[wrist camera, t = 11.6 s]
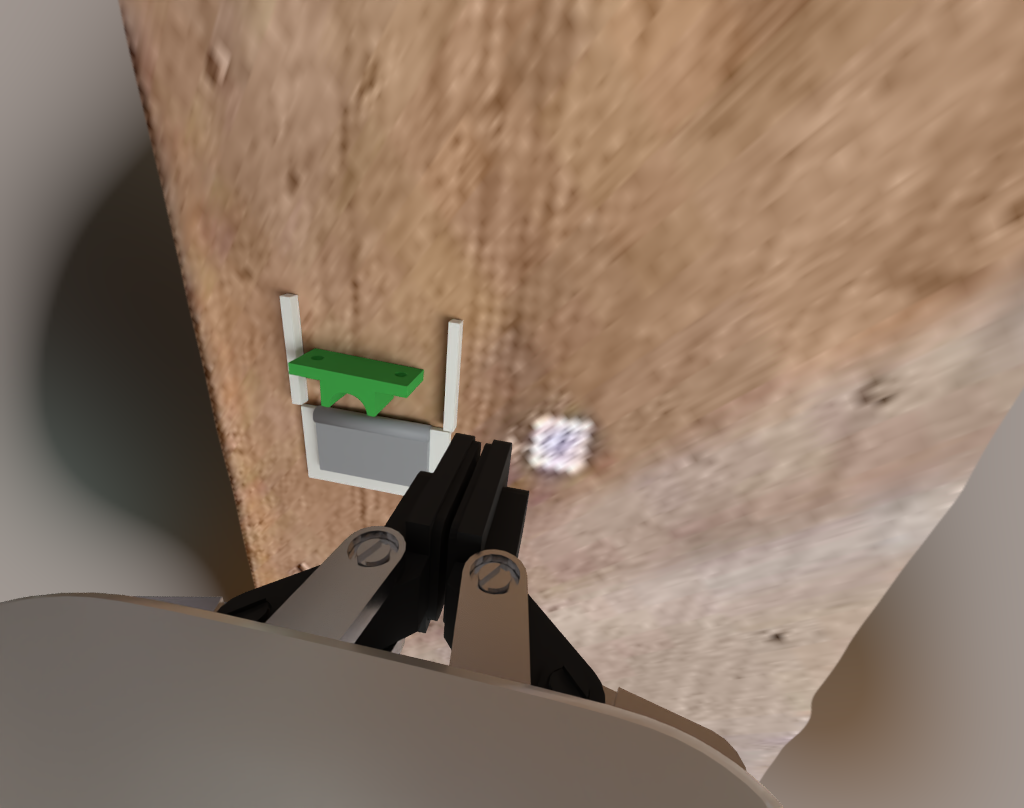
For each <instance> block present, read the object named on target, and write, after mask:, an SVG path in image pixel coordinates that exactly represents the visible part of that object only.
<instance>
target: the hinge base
mask: <svg viewBox="0 0 1024 808" xmlns="http://www.w3.org/2000/svg"><path fill="white" fill-rule="evenodd" d="M280 304H281V312H282V321H283V329H284V337H285V346H286V354H287V363H289V362H290V361H292V360H294V359H296V358H298V357H300V356H302V355H304V353H303V343H302V333H301V323H300V314H299V304H298V295H295V294H288V293H287V294H284V295H281V296H280ZM462 331H463V320H456V319H452V320H451V321H449V326H448V346H447V365H446V385H445V405H444V425H443V428H437V427H432V426H431V425H426V424H420V423H415V422H409V421H403V420H398V419H392V418H387V417H381V416H375V417H372V416H368V415H367V414H364V413H359V412H353V411H347V410H342V409H336V408H331V407H324V406H320V405H319V406H314V405H309V404H304V403H305V402H307V401H308V392H307V382H306V377H301V376H296V375H291V374H289V379H290V388H291V396H292V403H293V404H299V405H302V404H303V405H302V406H301V411H302V420H303V429H304V438H305V448H306V457H307V466H308V475H309V477H311V478H316V479H321V480H326V481H331V482H337V483H342V484H347V485H352V486H357V487H362V488H367V489H372V490H377V491H383V492H388V493H393V494H398V495H403V496H404V495H405V493H406V491H407V490H408V488H409V487H410V485H411V483H412V482H413V480H414V479H415V477H416V476H417V474H418V473H419V472H420V471H426V472H431V473H433V472H434V471H435V469H436V467H437V465H438V464H439V462H440V460H441V458H442V457H443V455H444V453H445V451H446V450H447V448H448V446H449V444H450V443H451V432H453V431H454V430H455V428H456V423H457V408H458V393H459V377H460V362H461V347H462ZM288 371H289V367H288Z"/></svg>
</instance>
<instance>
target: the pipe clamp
mask: <svg viewBox="0 0 1024 808" xmlns="http://www.w3.org/2000/svg"><path fill="white" fill-rule="evenodd" d="M288 367H289V374H291V375H296V376H301V377H306V378H311V379H316V380H320V390H321V406H324V407H330V406H331V405H333V404H334V403H335V402H336V401H338V400H339V399H340V398H342V397H343V396H344V395H345V394H347V393H348V394H351V395H353V396H355V397H357V398H358V399H359V400H360V401H361V402H362V403H363V405H364V406H365V408H366V411H367V415H368V416H372V417H375V416H376V415H377V414H378V413H379V412H380V411H381V410H382V409H383V408H384V407H385V406H386V405H387V404H388V403H389V402H390V401H391V400H392V399H393V397H394V396H399V397H404V398H407V397H408V396H409V395H410V394H411V393H412V392H413V391H414V390H415V388H416V387H417V386H418V385H419V384H420V383H421V382H422V381H423V374H424V370H423V369H418V368H413V367H408V366H402V365H397V364H392V363H387V362H382V361H377V360H372V359H367V358H362V357H357V356H352V355H347V354H342V353H337V352H332V351H327V350H322V349H316V348H315V349H313V350H311V351H309V352H307V353H305V354H304V355H302V356H300V357H298V358H296V359H294V360H292V361H290V362H289V363H288Z"/></svg>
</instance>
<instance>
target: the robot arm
mask: <svg viewBox="0 0 1024 808" xmlns="http://www.w3.org/2000/svg"><path fill="white" fill-rule="evenodd" d="M480 451H481V442H477V441H475V436H471V435H465V434H460V433H456V434H455V436H454V437H453V439H452V441H451V443H450V444H449V446H448V448H447V450H446V451H445V453H444V455H443V457H442V458H441V460H440V462H439V464H438V465H437V467H436V469H435V471H434V472H433V473H431V472H426V471H420V472H419V473H418V474H417V476H416V477H415V479H414V480H413V482H412V483H411V485H410V487H409V488H408V490H407V491H406V493H405V495H404V496H403V498H402V499H401V501H400V503H399V504H398V506H397V507H396V509H395V511H394V512H393V514H392V515H391V517H390V518H389V520H388V522H387V523H386V525H385V526H372V527H367V528H363V529H361V530H359V531H356V532H354V533H353V534H351V535H350V536H349V537H348V538H346V539H345V540H344V541H343V543H342V544H341V545H340V546H339V547H338V548H337V549H336V550H335V551H334V552H333V553H332V554H331V555H330V556H329V557H328V558H327V559H326V560H325V561H324V562H323V563H322V564H321V565H319V566H316V567H314V568H311V569H308V570H305V571H303V572H300V573H297V574H294V575H292V576H289V577H286V578H283V579H281V580H278V581H275V582H273V583H270V584H267V585H264V586H262V587H259V588H256V589H253V590H251V591H248V592H245V593H243V594H241V595H239V596H237V597H235V598H233V599H231V600H230V601H228V602H223V598H222V597H158V596H157V597H154V596H153V597H152V596H126V595H117V594H106V593H57V594H47V595H39V596H29V597H24V598H18V599H13V600H9V601H5V602H1V603H0V808H784V807H783V806H782V804H781V803H780V802H779V801H778V800H777V799H776V798H775V797H774V796H773V795H772V794H771V793H770V792H769V790H768V789H766V788H765V787H764V786H763V785H762V784H761V783H760V782H758V781H757V780H756V779H755V778H754V777H753V776H752V775H750V774H749V773H748V772H747V771H746V767H745V766H744V764H743V762H742V760H741V758H740V757H739V755H738V753H737V752H736V751H735V749H734V748H733V747H732V746H731V745H730V744H729V743H728V742H727V741H726V740H725V739H724V738H722V737H721V736H719V735H718V734H716V733H715V732H713V731H712V730H709V729H707V728H705V727H703V726H701V725H699V724H697V723H694V722H692V721H690V720H688V719H686V718H684V717H682V716H679V715H677V714H675V713H673V712H671V711H669V710H667V709H665V708H662V707H660V706H658V705H656V704H654V703H652V702H650V701H647V700H645V699H643V698H641V697H639V696H637V695H635V694H632V693H630V692H628V691H626V690H624V689H622V688H620V687H619V688H618V691H617V692H615V691H613V690H611V689H609V688H607V687H605V686H603V685H602V684H601V682H600V680H599V678H598V677H597V675H596V674H595V672H594V671H593V670H592V669H591V667H590V666H589V665H588V664H587V663H586V662H585V660H584V659H583V658H582V657H581V656H580V655H579V653H578V652H577V651H576V650H575V649H574V647H573V646H572V645H571V644H570V643H569V642H568V640H567V639H566V638H565V637H564V636H563V634H562V633H561V632H560V631H559V630H558V629H557V627H556V626H555V625H554V624H553V623H552V622H551V620H550V619H549V618H548V617H547V616H546V614H545V613H544V612H543V611H542V610H541V609H540V607H539V606H538V605H537V604H536V603H535V602H534V600H533V599H532V598H531V597H530V596H529V594H528V584H527V573H526V568H525V567H524V565H523V564H522V562H521V561H520V560H519V559H518V554H519V549H520V544H521V538H522V533H523V527H524V522H525V516H526V510H527V504H528V497H529V491H526V490H521V489H516V488H510V487H507V481H508V474H509V466H510V459H511V451H512V443H510V442H504V441H499V440H494V441H493V443H492V444H488V443H486V444H485V446H484V449H483V451H482V453H481V456H480ZM443 605H444V617H443V622H444V623H445V626H444V638H445V640H446V642H447V643H448V645H449V647H450V648H451V657H450V664H449V666H448V665H444V664H440V663H435V662H431V661H427V660H422V659H418V658H414V657H410V656H405V655H401V654H400V652H401V651H402V648H403V646H404V643H405V638H406V637H407V636H409V635H411V634H413V633H415V632H417V631H418V632H422V633H426V631H427V628H428V626H429V623H430V620H435V621H438V619H439V617H440V614H441V611H442V608H443Z"/></svg>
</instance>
